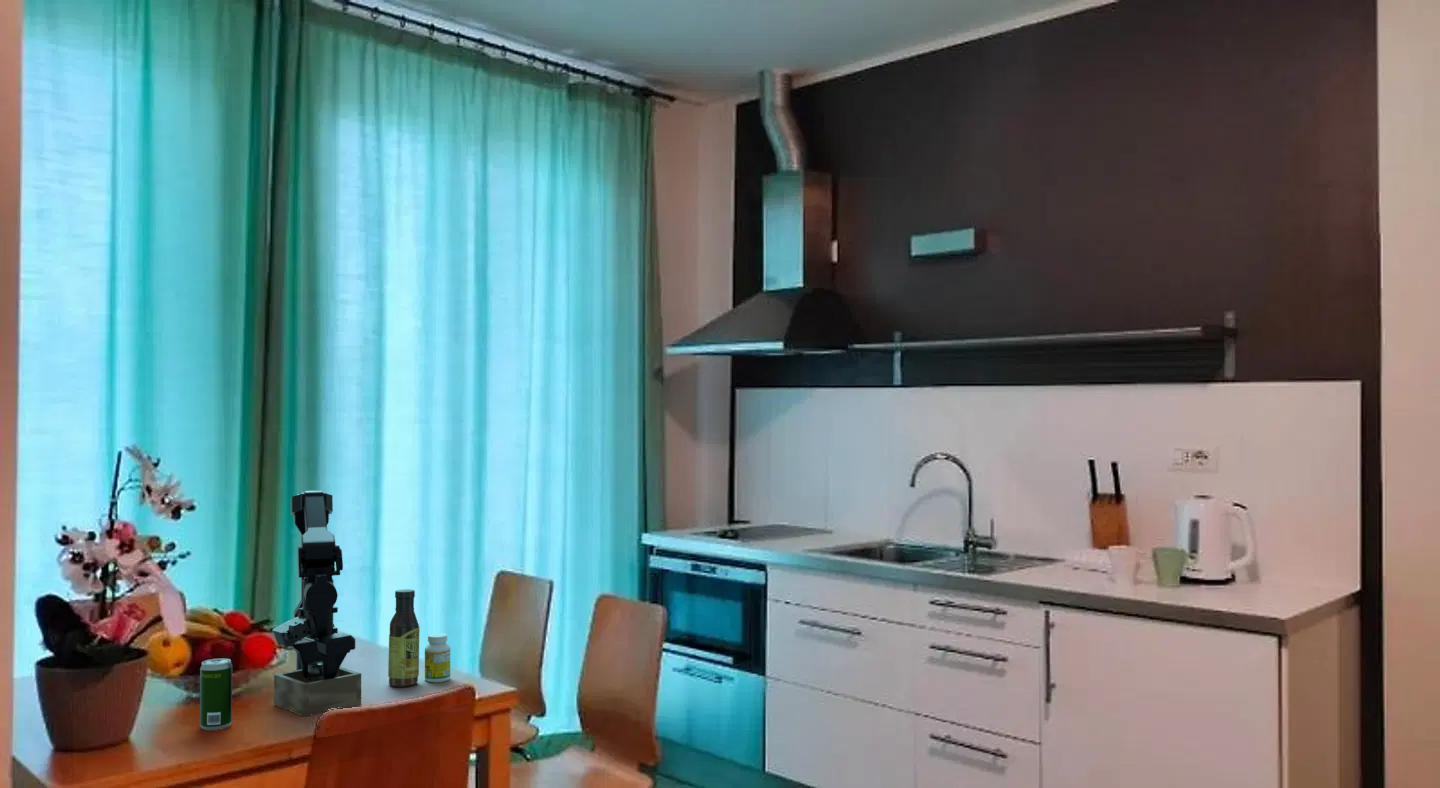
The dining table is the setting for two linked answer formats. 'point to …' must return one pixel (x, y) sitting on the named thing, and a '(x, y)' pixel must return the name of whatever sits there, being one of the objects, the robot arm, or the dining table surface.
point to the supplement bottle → (437, 658)
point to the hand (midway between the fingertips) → (317, 681)
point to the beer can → (215, 694)
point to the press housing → (316, 691)
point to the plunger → (315, 671)
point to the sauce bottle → (404, 641)
